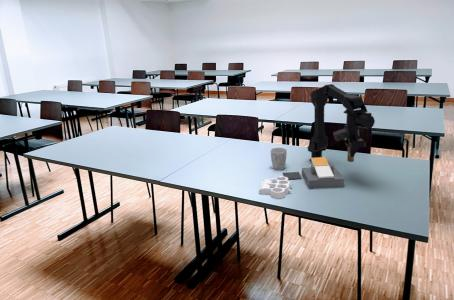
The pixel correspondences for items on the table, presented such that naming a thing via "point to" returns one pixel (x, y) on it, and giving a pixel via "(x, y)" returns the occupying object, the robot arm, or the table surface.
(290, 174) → the black mat
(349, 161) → the walnut cylinder
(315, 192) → the table surface
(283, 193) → the white lobed tray
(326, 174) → the white and orange panel
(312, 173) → the grey square block
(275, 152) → the mug
